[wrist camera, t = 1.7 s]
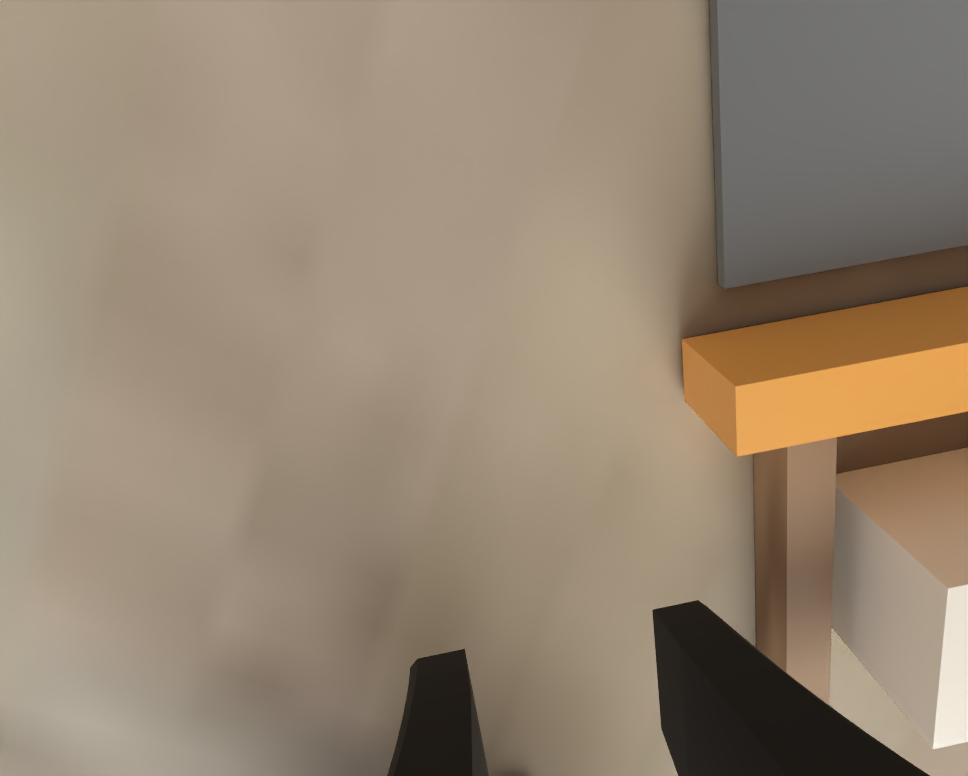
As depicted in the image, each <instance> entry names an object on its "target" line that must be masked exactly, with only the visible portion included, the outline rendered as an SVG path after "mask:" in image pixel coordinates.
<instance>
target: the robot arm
mask: <svg viewBox="0 0 968 776" xmlns="http://www.w3.org/2000/svg"><path fill="white" fill-rule="evenodd" d="M653 622H654V635H655V649H656V662H657V675H658V688H659V702H660V715H661V728H662V731H663V734H664V737H665V740H666V742H667V745H668V748H669V751H670V754H671V756H672V759H673V762H674V765H675V768H676V770H677V773H678V776H930V775H928V774H927V773H925V772H924V771H922V770H920V769H919V768H917V767H916V766H914V765H913V764H911V763H910V762H908V761H907V760H905V759H904V758H902V757H901V756H899V755H898V754H897V753H895V752H894V751H892V750H891V749H889V748H888V747H886V746H885V745H883V744H882V743H880V742H879V741H878V740H876V739H875V738H873V737H872V736H870V735H869V734H867V733H866V732H865V731H863V730H862V729H860V728H859V727H858V726H856V725H855V724H854V723H852V722H851V721H849V720H848V719H847V718H845V717H844V716H842V715H841V714H840V713H838V712H837V711H836V710H834V709H833V708H832V707H831V706H829V705H828V704H827V703H825V702H824V701H823V700H821V699H820V698H819V697H817V696H816V695H815V694H813V693H812V692H811V691H809V690H808V689H807V688H805V687H804V686H803V685H802V684H800V683H799V682H798V681H796V680H795V679H794V678H792V677H791V676H790V675H789V674H787V673H786V672H785V671H784V670H782V669H781V668H780V667H779V666H777V665H776V664H775V663H774V662H772V661H771V660H770V659H769V658H768V657H766V656H765V655H764V654H763V653H761V652H760V651H759V650H758V649H757V648H755V647H754V646H753V645H752V644H750V643H749V642H748V641H747V640H746V639H745V638H743V637H742V636H741V635H740V634H739V633H737V632H736V631H735V630H734V629H733V628H731V627H730V626H729V625H728V624H727V623H726V622H724V621H723V620H722V619H721V618H720V617H718V616H717V615H716V614H715V613H714V612H713V611H711V610H710V609H709V608H708V607H707V606H705V605H704V604H702V603H701V602H700V601H698V600H697V601H692V602H688V603H683V604H678V605H673V606H668V607H664V608H659V609H654V610H653ZM387 776H489V775H488V769H487V764H486V759H485V753H484V748H483V743H482V738H481V732H480V727H479V722H478V717H477V712H476V706H475V701H474V696H473V691H472V685H471V680H470V675H469V670H468V665H467V659H466V654H465V649H462V650H457V651H453V652H448V653H443V654H438V655H434V656H429V657H424V658H419V659H417V660H416V661H415V663H414V664H413V665H412V666H411V668H410V677H409V686H408V692H407V699H406V704H405V709H404V714H403V719H402V723H401V727H400V731H399V735H398V740H397V744H396V748H395V751H394V755H393V758H392V762H391V765H390V768H389V772H388V775H387Z"/></svg>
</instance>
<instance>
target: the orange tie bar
mask: <svg viewBox="0 0 968 776" xmlns="http://www.w3.org/2000/svg"><path fill="white" fill-rule="evenodd" d="M682 354H683V374H684V394H685V402H686V403H687V404H688V405H689V406H690V407H691V408H692V409H693V410H694V411H695V412H696V413H697V415H698V416H699V417H700V418H701V419H702V420H703V421H704V422H705V423H706V424H707V425H708V426H709V427H710V428H711V429H712V431H713V432H714V433H715V434H716V435H717V436H718V437H719V438H720V439H721V440H722V441H723V442H724V443H725V444H726V445H727V447H728V448H729V449H730V450H731V451H732V452H733V453H734V454H735V455H736V456H737V457H738V456H743V455H749V454H754V453H759V452H764V451H769V450H774V449H779V448H784V447H789V446H794V445H800V444H805V443H810V442H815V441H820V440H825V439H830V438H835V437H840V436H845V435H850V434H856V433H861V432H866V431H871V430H876V429H881V428H886V427H891V426H896V425H901V424H906V423H912V422H917V421H922V420H927V419H932V418H937V417H942V416H947V415H952V414H957V413H962V412H968V286H967V287H962V288H956V289H951V290H945V291H940V292H935V293H929V294H924V295H918V296H913V297H908V298H902V299H897V300H891V301H886V302H881V303H875V304H870V305H864V306H859V307H853V308H848V309H843V310H837V311H832V312H826V313H821V314H816V315H810V316H805V317H799V318H794V319H789V320H783V321H778V322H772V323H767V324H761V325H756V326H751V327H745V328H740V329H734V330H729V331H724V332H718V333H713V334H707V335H702V336H697V337H691V338H686V339H682Z"/></svg>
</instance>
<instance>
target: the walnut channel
mask: <svg viewBox="0 0 968 776" xmlns="http://www.w3.org/2000/svg"><path fill="white" fill-rule="evenodd" d="M836 459H837V437H835V438H830V439H825V440H820V441H815V442H810V443H805V444H800V445H794V446H789V447H784V448H779V449H774V450H769V451H764V452H759V453H754V519H755V588H756V648H757V649H758V650H759V651H760V652H761V653H763V654H764V655H765V656H766V657H768V658H769V659H770V660H771V661H772V662H774V663H775V664H776V665H777V666H779V667H780V668H781V669H782V670H784V671H785V672H786V673H787V674H789V675H790V676H791V677H792V678H794V679H795V680H796V681H798V682H799V683H800V684H802V685H803V686H804V687H805V688H807V689H808V690H809V691H811V692H812V693H813V694H815V695H816V696H817V697H819V698H820V699H821V700H823V701H824V702H825V703H827V704H828V705H829V687H830V654H831V622H832V589H833V557H834V524H835V491H836Z"/></svg>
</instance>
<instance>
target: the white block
mask: <svg viewBox="0 0 968 776" xmlns="http://www.w3.org/2000/svg"><path fill="white" fill-rule="evenodd" d="M831 627H832V628H833V629H834V630H835V631H836V633H837V634H838V635H839V636H840V638H841V639H842V640H843V641H844V642H845V644H846V645H847V646H848V647H849V648H850V650H851V651H852V652H853V653H854V655H855V656H856V657H857V658H858V659H859V661H860V662H861V663H862V664H863V665H864V667H865V668H866V669H867V670H868V672H869V673H870V674H871V675H872V676H873V678H874V679H875V680H876V681H877V682H878V684H879V685H880V686H881V687H882V689H883V690H884V691H885V692H886V693H887V695H888V696H889V697H890V698H891V699H892V701H893V702H894V703H895V704H896V706H897V707H898V708H899V709H900V710H901V712H902V713H903V714H904V715H905V716H906V718H907V719H908V720H909V721H910V723H911V724H912V725H913V726H914V727H915V729H916V730H917V731H918V732H919V733H920V735H921V736H922V737H923V738H924V740H925V741H926V742H927V743H928V744H929V746H930V747H931V748H932V749H937V748H942V747H946V746H951V745H955V744H959V743H964V742H968V448H963V449H958V450H953V451H948V452H943V453H938V454H933V455H928V456H923V457H918V458H913V459H908V460H903V461H899V462H894V463H889V464H884V465H879V466H874V467H869V468H864V469H859V470H854V471H849V472H844V473H839V474H836V491H835V524H834V557H833V589H832V622H831Z"/></svg>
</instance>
